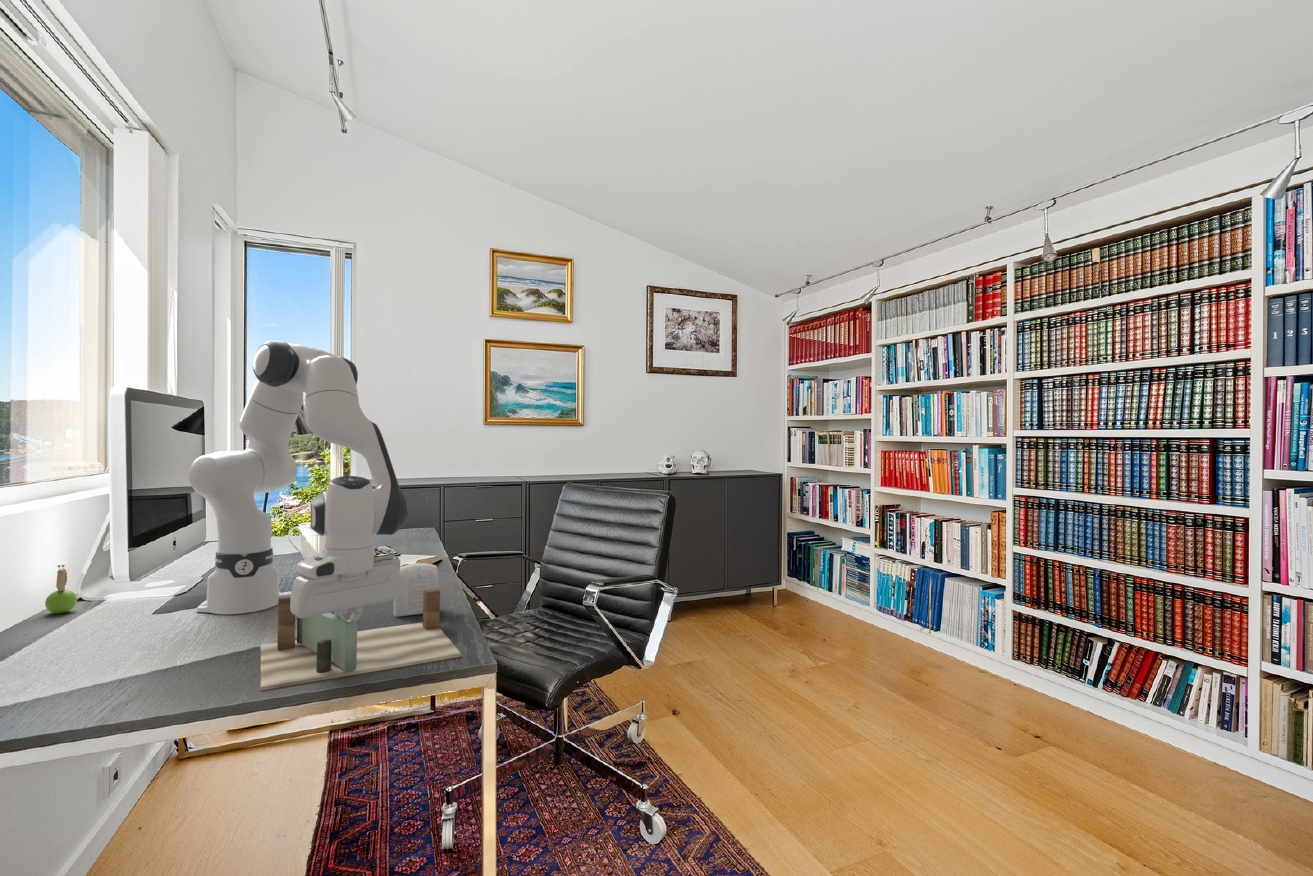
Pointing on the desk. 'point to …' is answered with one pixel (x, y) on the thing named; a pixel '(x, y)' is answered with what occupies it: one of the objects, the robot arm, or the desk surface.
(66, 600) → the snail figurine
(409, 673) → the desk surface
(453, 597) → the desk surface
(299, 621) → the gate
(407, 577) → the photo printer
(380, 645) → the gate frame
